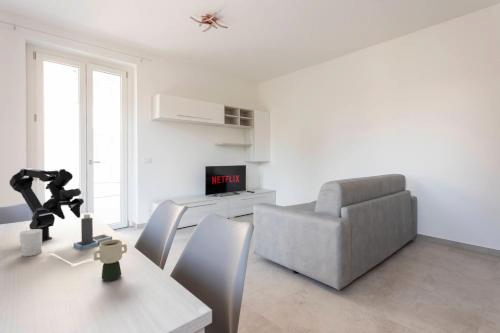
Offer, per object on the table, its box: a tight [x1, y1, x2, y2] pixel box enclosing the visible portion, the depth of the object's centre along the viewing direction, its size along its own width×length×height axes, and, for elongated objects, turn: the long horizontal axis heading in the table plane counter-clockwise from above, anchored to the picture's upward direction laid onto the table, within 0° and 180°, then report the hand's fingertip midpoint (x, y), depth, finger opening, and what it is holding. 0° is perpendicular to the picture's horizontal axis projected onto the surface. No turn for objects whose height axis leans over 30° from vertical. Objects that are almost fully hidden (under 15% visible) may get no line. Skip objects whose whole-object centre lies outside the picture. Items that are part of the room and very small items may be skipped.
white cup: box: [18, 229, 43, 257], centre depth 117 cm, size 8×8×10 cm
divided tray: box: [73, 233, 113, 251], centre depth 129 cm, size 11×16×2 cm
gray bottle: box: [80, 213, 94, 246], centre depth 124 cm, size 4×4×15 cm
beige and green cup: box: [93, 239, 128, 281], centre depth 93 cm, size 11×7×13 cm, turn 135°
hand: (71, 218), depth 128 cm, fingers open, 9 cm apart
